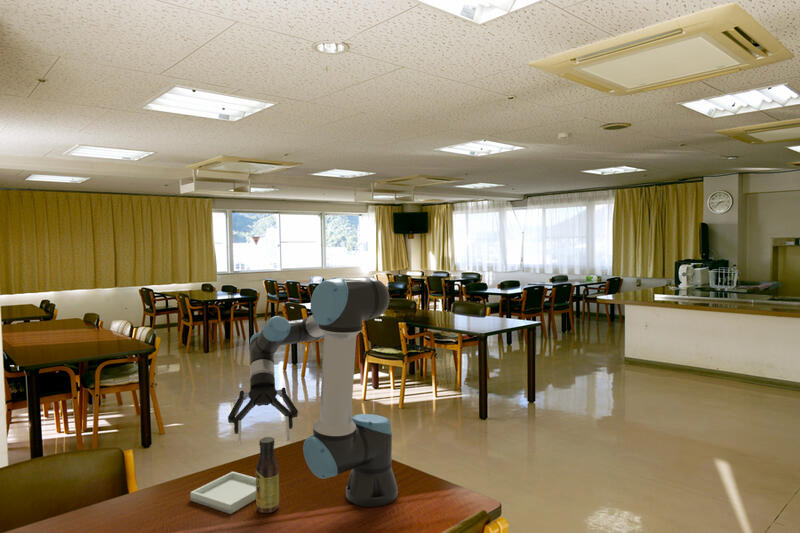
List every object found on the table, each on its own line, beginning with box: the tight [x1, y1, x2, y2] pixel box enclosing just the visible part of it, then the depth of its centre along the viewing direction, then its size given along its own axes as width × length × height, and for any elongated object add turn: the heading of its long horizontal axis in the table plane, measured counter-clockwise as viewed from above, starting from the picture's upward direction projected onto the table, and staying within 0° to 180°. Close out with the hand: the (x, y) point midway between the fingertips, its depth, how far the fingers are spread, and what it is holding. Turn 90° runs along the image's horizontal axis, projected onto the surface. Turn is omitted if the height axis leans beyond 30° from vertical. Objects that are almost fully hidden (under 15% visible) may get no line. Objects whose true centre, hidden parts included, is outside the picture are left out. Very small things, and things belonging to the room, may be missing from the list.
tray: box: [190, 471, 256, 515], centre depth 156 cm, size 16×16×2 cm
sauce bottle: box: [255, 436, 280, 514], centre depth 147 cm, size 7×6×20 cm
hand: (264, 441), depth 154 cm, fingers open, 13 cm apart
